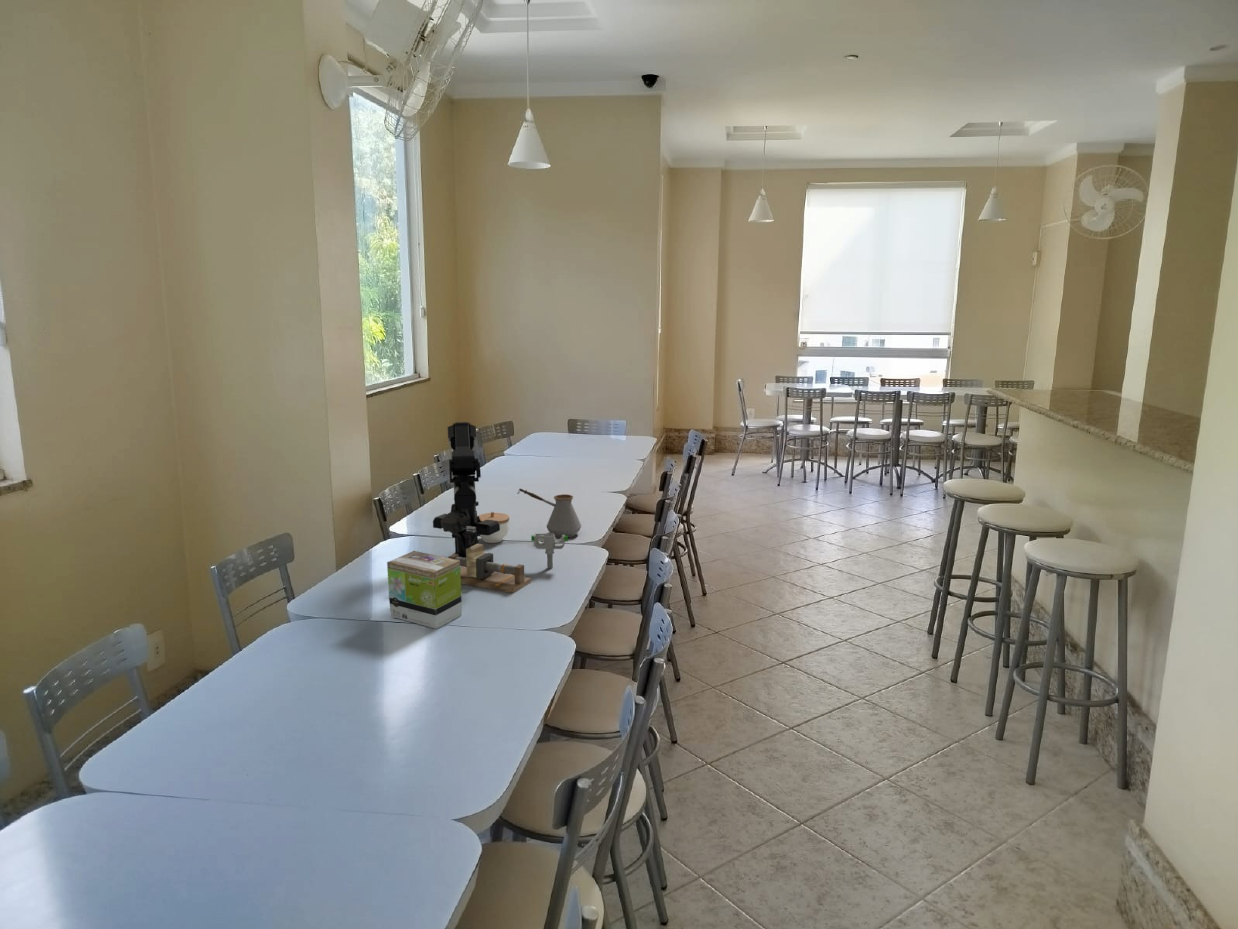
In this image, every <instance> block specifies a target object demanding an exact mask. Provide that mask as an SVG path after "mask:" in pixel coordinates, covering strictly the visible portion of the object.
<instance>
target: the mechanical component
mask: <svg viewBox="0 0 1238 929" xmlns="http://www.w3.org/2000/svg"><path fill="white" fill-rule="evenodd" d="M540 540H543V541H540ZM531 542H534V547H535V548H536V549H537V550H538V549H539V550H545V552H544V553H545V554H546V556H547V557H546V558H547V559H546V560H547V562H546V563H547V564H546V565H547V566H546V567H547V569H548V570H551V569H553V566H554V563H553V555H554V554H555V550H562V549H563V548H564V547H565V543H566V542H568V537H567V536H565V535H562V538H561V537H560V538H558V539H557V537H555V536H554V534H551V533H534V535H533V534H532V535H531Z"/></svg>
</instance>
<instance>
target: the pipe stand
mask: <svg viewBox="0 0 1238 929" xmlns="http://www.w3.org/2000/svg"><path fill="white" fill-rule="evenodd" d="M452 554H453V555H452ZM452 554H451V555H449V556H448V558H450V559H455V560H460V574H461V585H466V586H471V587H477V588H483V589H487V590H488V589H489V590H495V591H499V592H505V593H511V594H515V593H516V592H518V591H520V590H521V589H522V588H524V587H527V585H529V584H531V581H532V578H531V577H526V576H525V565H524V564H518V565H509V564H507V563H497V562H494V561H493V562H484V567H485V570H487V571H493V572H494V573H492V574H491V575H489V576H487V577H485V578H483V579H479V578H477V577H470V576H467V561H466V558H462V557H459V555H458V554H454V553H452Z"/></svg>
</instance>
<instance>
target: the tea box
mask: <svg viewBox="0 0 1238 929" xmlns="http://www.w3.org/2000/svg"><path fill="white" fill-rule="evenodd" d="M386 566H387V580H388V581H387V582H388V583H387V584H388V597H389V598H388V601H389V616H390V617H391V618H395V619H400V620H404V621H406V622H410V623H415V624H418V625H420V626H421V625H422V626H424V627H427V628H432V629H434V630H437V629H440V628H441V627H443V626H445V625H446V624H448V623H450V622H452V621H454V620H455V619H457V618H459V617H461V616H462V615H463V610H462V608H463V607H462V584H461V574H460V567H461V566H460V560H455V559H450V558H449V557H444V556H440V555H435V554H432V553H427V552H422V551H421V552H420V551H418V550H417V551H416V550H412V551H410V552H407V553H406V554H404V555H401V556H399V557H396V558H395V559H392V560H389V561H387V562H386Z"/></svg>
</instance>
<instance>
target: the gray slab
mask: <svg viewBox="0 0 1238 929" xmlns="http://www.w3.org/2000/svg"><path fill="white" fill-rule="evenodd" d="M486 553H487V554H485V555H483V556H481V557H479V558H477V578H479V579H483V578H485V577H487V576H489V575H491V574H492V573H494V572H493V571H487V570H485V567H484V562H493V563H494V553H492V552H486Z"/></svg>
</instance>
